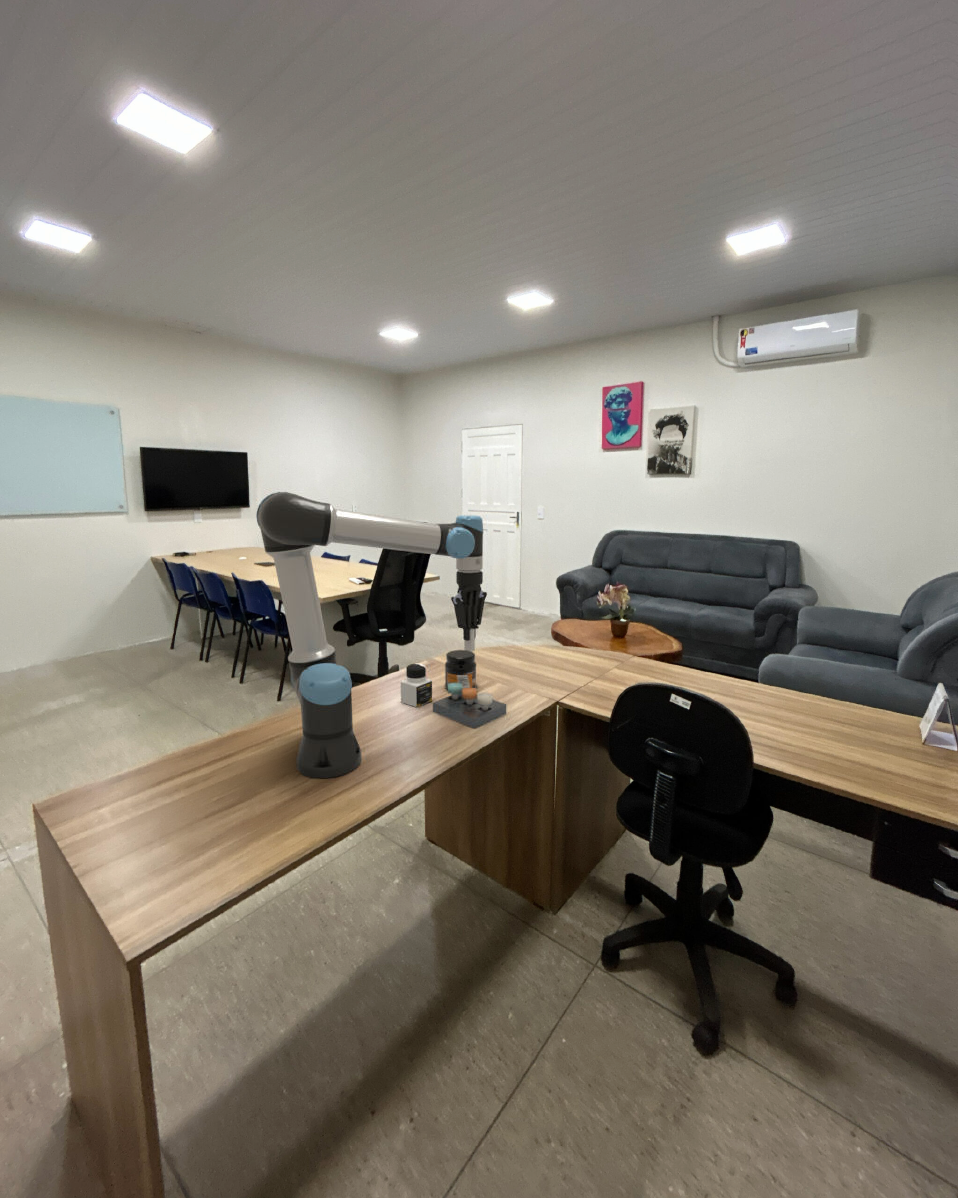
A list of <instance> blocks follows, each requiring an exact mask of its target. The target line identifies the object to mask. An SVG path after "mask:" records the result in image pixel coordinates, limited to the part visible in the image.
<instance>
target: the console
mask: <svg viewBox="0 0 958 1198" xmlns="http://www.w3.org/2000/svg"><path fill="white" fill-rule="evenodd" d="M478 694H479V693H477V695H478ZM432 713H435V714H436V715H438V716H441V717H444V718H447V719H450V720H452V721H454V722H457V723H459V724H462V725H465V726H467V727H470V728H472V729H478V728H480V727H482V726H484V725H486V724H488V723H490V722H492V721H495V720H496V719H498V718H501V717H503V716H506V715H507V703H504V702H501V701H498V700H495V699H492V703H491V704H489V705H488V711H487V712H484V711H481V704H479V703H478V702H477V698H475V699H473V705H472V706H467V705H466V699H464V698H463V697H462V693H460V694H458V700H457V701H454V700H452V694H450V695H448V696H446V697H444V698H441V699H439V700H435V701H433V702H432Z"/></svg>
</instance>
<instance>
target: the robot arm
mask: <svg viewBox="0 0 958 1198" xmlns="http://www.w3.org/2000/svg"><path fill="white" fill-rule="evenodd" d="M255 515H256V521H257V522H256V523H257V525H258V527H259V529H260V534H261V538H262V542H263V547H264V551H265V554H267V555H269V556H270V558H273V561H274V566H275V571H276V577H277V581H278V586H279V591H280V596H281V601H282V606H283V610H284V614H285V619H286V623H287V629H288V634H289V638H290V644H291V648H292V651H291V652H290V653H289V654H288V656H287V660H288V665H289V670H290V681H291V682H290V683H291V685H292V687H293V689H294V691H295V693H296V696H297V699H298V702H299V704H300V711H301V713H300V714H301V726H302V728H301V729H302V738H301V741H300V744H299V747H298V748H299V749H298V752H297V754H296V769H297V771H298V772H299V773H300V774H302V775H303V776H306V777H308V778H312V779H330V778H336V777H340V776H343V775H345V774H348V773H350V772H352V771H354V770H355V769H356V768H358V766H359V765H360V764H361V762H362V750H361V747H360V744H359V742H358V740H357V737H356V734H355V732H354V728H353V727H354V725H353V723H354V721H353V702H352V699H353V698H352V689H353V688H352V687H353V685H352V684H353V683H352V679H351V674H350V671H349V670H348V669H347V668H346V667H344V666H342V665H338V661H337V660H338V659H337V655H336V650H335V647H334V646H332V645H331V644H329V643H328V640H327V635H326V630H325V629H326V628H325V624H324V620H323V619H324V618H323V614H322V608H321V603H320V597H319V593H318V587H317V582H316V577H315V573H314V571H315V570H314V568H313V562H312V557H311V552H312V550H313V549H314V548H315V546H321V547H327V546H328V545H330V544H331V543H334V544H343V545H352V546H359V547H360V546H361V547H368V548H375V549H376V548H377V549H385V550H386V549H387V550H393V551H404V552H410V553H419V554H430V555H435V556H442V557H443V556H445V557H450V558H453V559H456V560H455V563H456V564H455V567H456V568H455V569H456V570H457V571H456V576H455V579H456V580H455V581H456V582H455V583H456V584H457V586H458V588H457V594H456V595H455V596H452V597H451V598H450V601H451V602H452V604H453V608H454V609H453V610H454V612H455V613H454V614H455V619H456V625H457V628H459V629H461V630H463V633H462V635H463V638H462V639H463V642H464V643H463V644H464V648H463V649H464V650H467V651H470V652H475V651H476V649H475V648H476V646H475V645H476V644H475V643H476V642H475V641H476V640H475V639H476V635H477V633H476V632H477V630H479V626H481V624H482V619H483V612H484V608H485V607H484V606H485V601H486V598H487V595H488V592H487V591H483V590H482V586H481V585H482V584H483V582H484V579H483V577H484V573H483V571H482V570H483V569H484V568H483V566H484V565H483V561H484V559H483V556H484V551H483V550H484V548H483V546H484V523H483V518H482V517H481V516H479V515H472V514H471V515H469V514H467V515H466V514H465V515H458V516H456V518H455V522H452V523H432V522H425V521H418V520H411V519H407V518H406V519H405V518H398V517H390V516H386V515H385V516H384V515H376V514H371V513H363V512H357V511H350V510H343V509H337V508H335V507H334V506H333V505H332V503H329V502H328V503H326V502H321V501H317V500H313V499H310V498H307V497H303V496H301V495H298V494H297V493H292V492H291V493H290V492H287V491H277V492H273V493H271V494H268V495H267V496H266V497H264V498H262V500H261V502H260V503H259V505H258V506H257V509H256V514H255Z"/></svg>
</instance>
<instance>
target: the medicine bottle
mask: <svg viewBox="0 0 958 1198" xmlns="http://www.w3.org/2000/svg"><path fill="white" fill-rule="evenodd" d="M405 672H406V678H405V679H402V680H400V703H402V704H406V705H407V706H412V707H414V708H419V707H422V706H423V705H426V704H428V703H430V702H432V701H433V680H432V679H431V678H430V679H429V678H427V666H426V665H425V664H422V663H417V662H416V663H411V664H408V665H407V666H406V670H405Z"/></svg>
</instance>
